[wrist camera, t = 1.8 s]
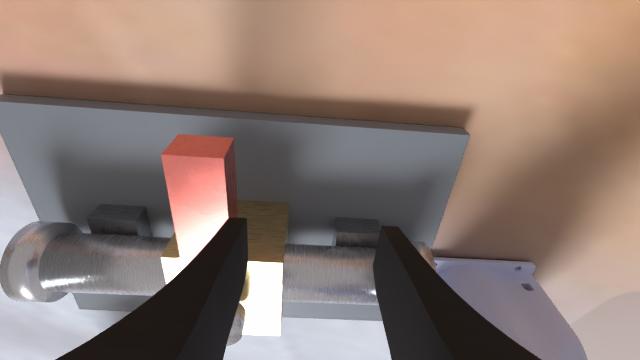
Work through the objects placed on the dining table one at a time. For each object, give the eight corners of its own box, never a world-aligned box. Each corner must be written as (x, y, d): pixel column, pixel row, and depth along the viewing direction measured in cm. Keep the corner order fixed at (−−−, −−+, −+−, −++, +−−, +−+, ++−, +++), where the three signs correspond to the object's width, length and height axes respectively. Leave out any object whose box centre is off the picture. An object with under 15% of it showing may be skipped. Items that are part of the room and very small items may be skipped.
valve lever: (247, 322, 20) (242, 352, 18) (203, 321, 19) (193, 350, 18) (239, 138, 13) (229, 159, 12) (173, 133, 13) (155, 154, 12)
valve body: (420, 210, 23) (450, 276, 18) (401, 275, 26) (422, 346, 21) (51, 189, 22) (-29, 254, 17) (80, 260, 25) (20, 332, 20)
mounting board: (462, 127, 21) (470, 135, 20) (403, 310, 31) (406, 321, 30) (2, 94, 20) (-15, 100, 19) (87, 297, 29) (79, 309, 28)
